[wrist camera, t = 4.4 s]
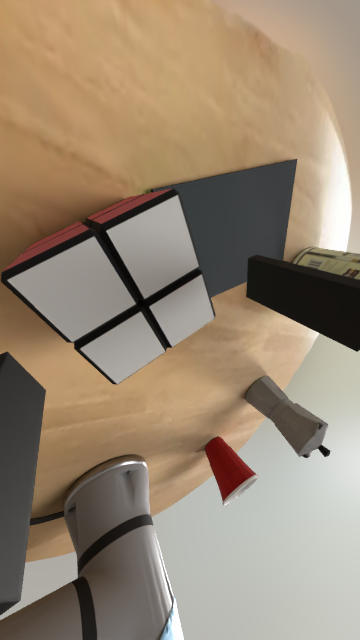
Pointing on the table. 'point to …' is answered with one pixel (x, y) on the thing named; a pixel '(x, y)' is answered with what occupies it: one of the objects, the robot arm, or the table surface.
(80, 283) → the puzzle cube
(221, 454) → the plastic cup
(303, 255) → the coffee can
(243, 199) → the placemat
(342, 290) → the robot arm
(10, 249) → the table surface
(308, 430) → the coffeepot
